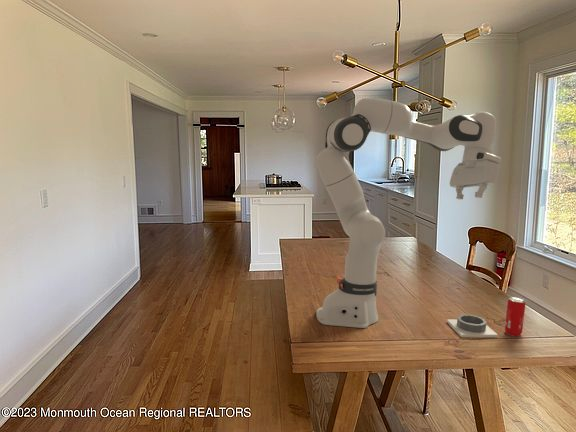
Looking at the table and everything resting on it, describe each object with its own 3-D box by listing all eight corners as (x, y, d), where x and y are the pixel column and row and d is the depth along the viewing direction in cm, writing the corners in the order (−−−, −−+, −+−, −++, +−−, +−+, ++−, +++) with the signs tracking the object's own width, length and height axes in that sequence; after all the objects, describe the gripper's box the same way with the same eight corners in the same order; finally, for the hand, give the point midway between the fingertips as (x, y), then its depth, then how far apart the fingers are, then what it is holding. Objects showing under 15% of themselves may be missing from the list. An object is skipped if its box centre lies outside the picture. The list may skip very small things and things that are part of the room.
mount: (461, 337, 139) (462, 327, 138) (446, 322, 150) (447, 312, 150) (497, 337, 139) (498, 327, 138) (480, 322, 151) (480, 312, 150)
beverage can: (506, 328, 146) (510, 295, 144) (523, 333, 142) (527, 299, 140) (502, 333, 142) (506, 299, 140) (520, 338, 138) (524, 303, 136)
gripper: (449, 161, 155) (442, 197, 153) (489, 152, 135) (481, 194, 134) (463, 165, 156) (456, 202, 155) (505, 157, 136) (497, 199, 135)
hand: (468, 198), depth 144 cm, fingers open, 8 cm apart
